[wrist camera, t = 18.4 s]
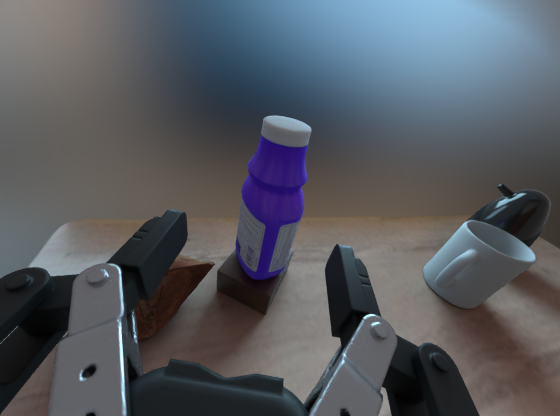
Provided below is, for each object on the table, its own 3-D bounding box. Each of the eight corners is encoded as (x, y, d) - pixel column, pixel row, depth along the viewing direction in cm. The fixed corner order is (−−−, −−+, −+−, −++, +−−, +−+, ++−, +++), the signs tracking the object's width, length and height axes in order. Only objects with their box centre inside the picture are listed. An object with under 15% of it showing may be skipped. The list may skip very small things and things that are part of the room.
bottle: (291, 277, 26) (341, 138, 16) (248, 291, 24) (277, 136, 14) (266, 237, 31) (294, 112, 21) (228, 245, 28) (239, 106, 18)
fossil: (220, 250, 28) (181, 226, 19) (226, 320, 25) (182, 332, 16) (128, 270, 28) (44, 256, 19) (120, 342, 25) (15, 367, 16)
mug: (438, 260, 41) (480, 216, 35) (487, 299, 35) (547, 255, 29) (399, 276, 35) (440, 227, 29) (449, 326, 30) (513, 278, 23)
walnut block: (216, 290, 27) (217, 270, 25) (247, 250, 34) (249, 231, 31) (265, 315, 26) (270, 296, 24) (287, 268, 32) (293, 250, 30)
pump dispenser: (451, 227, 52) (499, 172, 44) (502, 250, 48) (566, 194, 39) (450, 248, 45) (508, 187, 36) (510, 278, 41) (592, 216, 32)
